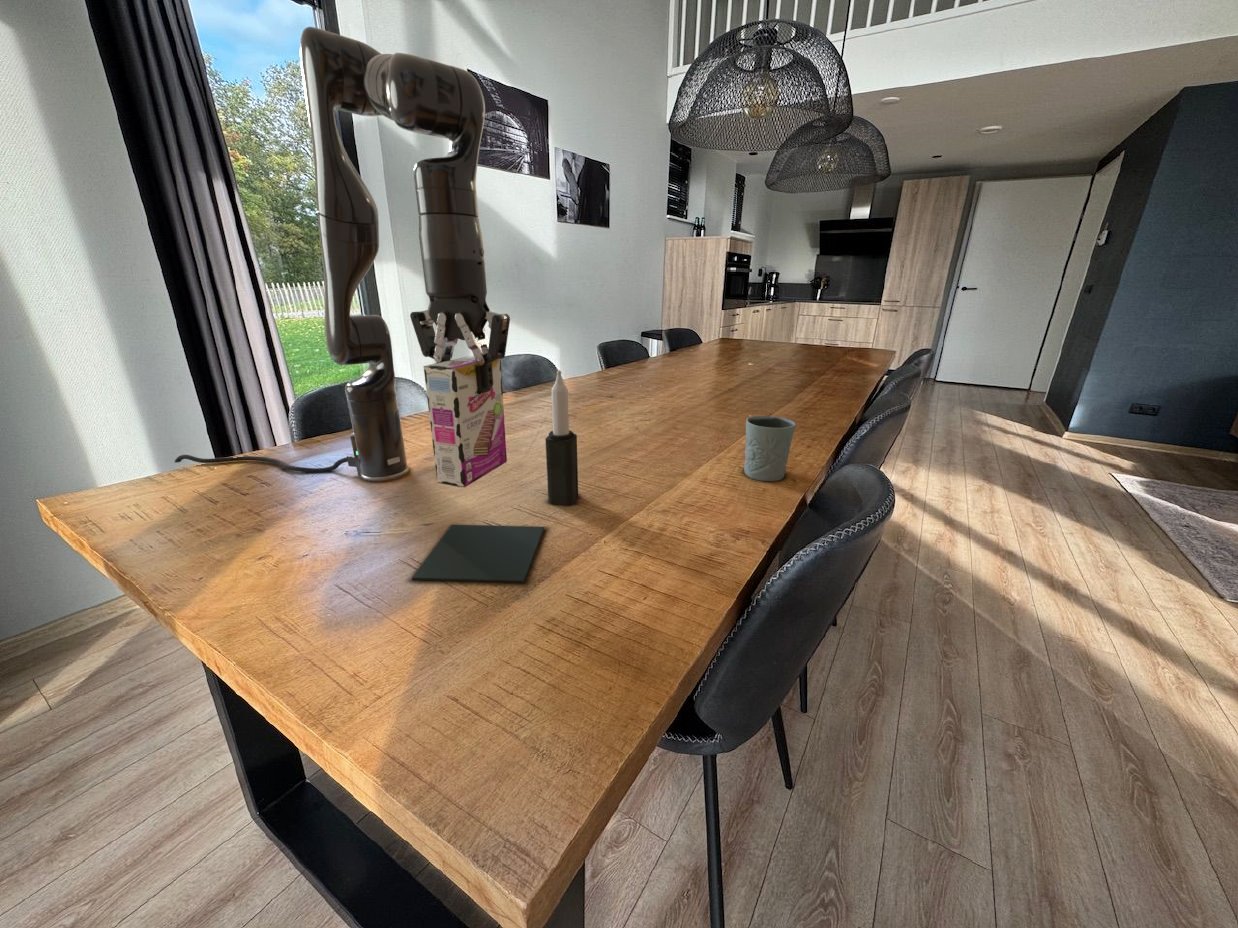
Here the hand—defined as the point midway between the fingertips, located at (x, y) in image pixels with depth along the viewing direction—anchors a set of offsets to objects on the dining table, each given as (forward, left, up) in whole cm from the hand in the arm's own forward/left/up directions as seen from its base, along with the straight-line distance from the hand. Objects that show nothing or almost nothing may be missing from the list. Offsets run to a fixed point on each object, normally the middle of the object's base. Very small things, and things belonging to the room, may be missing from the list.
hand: (467, 389), depth 68 cm
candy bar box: (0, 0, -13) cm, 13 cm away
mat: (0, 0, -26) cm, 26 cm away
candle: (+4, +22, -26) cm, 34 cm away
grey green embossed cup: (+41, +48, -26) cm, 68 cm away
